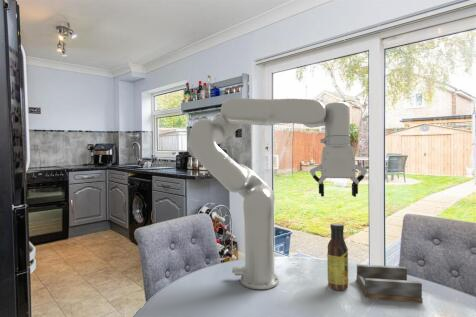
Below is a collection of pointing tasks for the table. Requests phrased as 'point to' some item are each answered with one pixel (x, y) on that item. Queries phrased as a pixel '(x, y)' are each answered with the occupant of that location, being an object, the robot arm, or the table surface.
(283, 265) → the table surface
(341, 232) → the sauce bottle
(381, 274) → the bottle track
